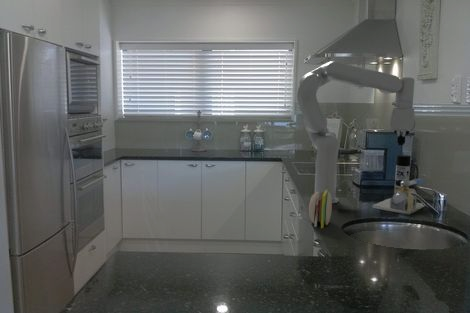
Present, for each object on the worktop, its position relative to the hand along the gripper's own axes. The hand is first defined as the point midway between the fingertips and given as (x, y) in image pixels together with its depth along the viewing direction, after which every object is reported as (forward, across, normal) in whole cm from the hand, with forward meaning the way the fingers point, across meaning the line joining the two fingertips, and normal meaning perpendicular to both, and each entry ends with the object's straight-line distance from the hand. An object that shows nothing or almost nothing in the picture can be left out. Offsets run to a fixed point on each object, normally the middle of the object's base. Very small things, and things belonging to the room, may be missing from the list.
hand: (401, 144), depth 199 cm
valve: (+27, +3, -9) cm, 29 cm away
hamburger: (+27, -14, -56) cm, 64 cm away
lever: (+17, +7, -4) cm, 19 cm away
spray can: (+27, -3, +20) cm, 34 cm away
